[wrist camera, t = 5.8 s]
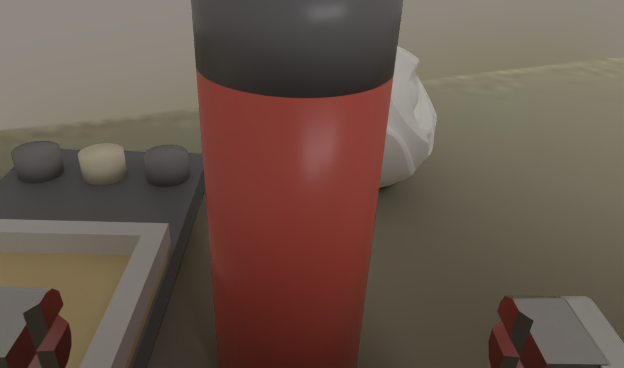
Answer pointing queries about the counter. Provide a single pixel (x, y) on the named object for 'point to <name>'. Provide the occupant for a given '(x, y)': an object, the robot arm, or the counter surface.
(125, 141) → the counter surface
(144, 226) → the control panel
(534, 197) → the counter surface
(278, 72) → the red cylinder with cap
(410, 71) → the white swirled ball
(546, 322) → the robot arm
